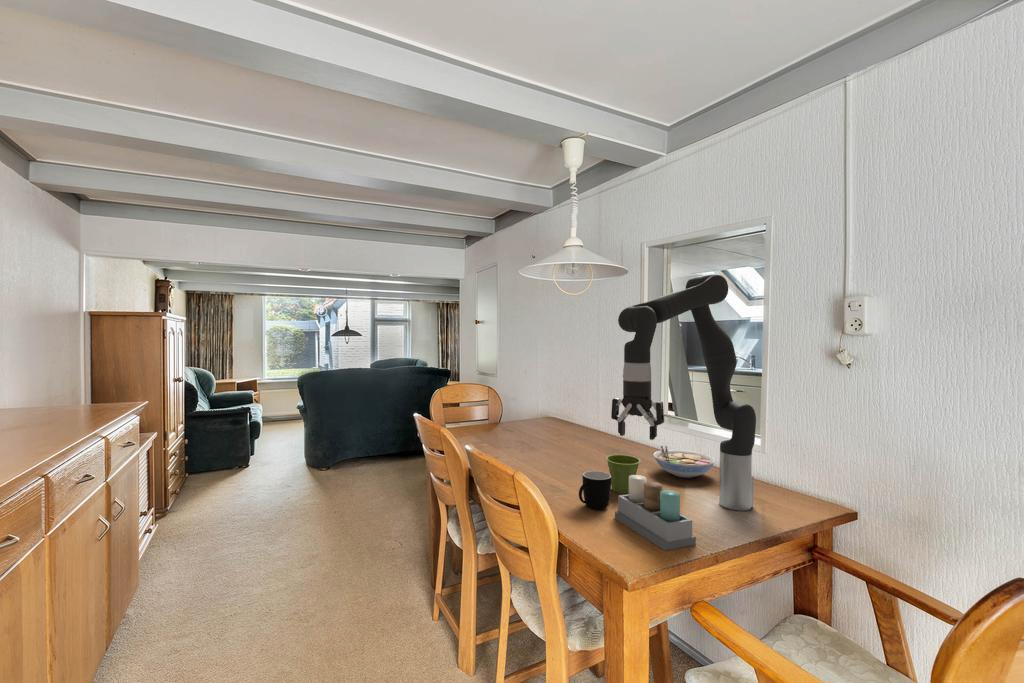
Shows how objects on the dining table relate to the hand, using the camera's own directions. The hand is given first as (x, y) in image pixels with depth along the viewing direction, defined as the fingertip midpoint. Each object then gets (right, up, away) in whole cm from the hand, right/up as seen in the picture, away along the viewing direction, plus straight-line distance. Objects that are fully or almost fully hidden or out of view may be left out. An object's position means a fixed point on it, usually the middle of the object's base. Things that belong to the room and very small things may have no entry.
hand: (636, 437), depth 125 cm
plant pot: (+4, -26, +33) cm, 42 cm away
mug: (-9, -26, +17) cm, 33 cm away
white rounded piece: (+2, -20, +8) cm, 21 cm away
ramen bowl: (+32, -26, +51) cm, 66 cm away
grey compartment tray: (+5, -26, +1) cm, 27 cm away
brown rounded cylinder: (+5, -20, +1) cm, 21 cm away
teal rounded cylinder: (+7, -20, -6) cm, 22 cm away
